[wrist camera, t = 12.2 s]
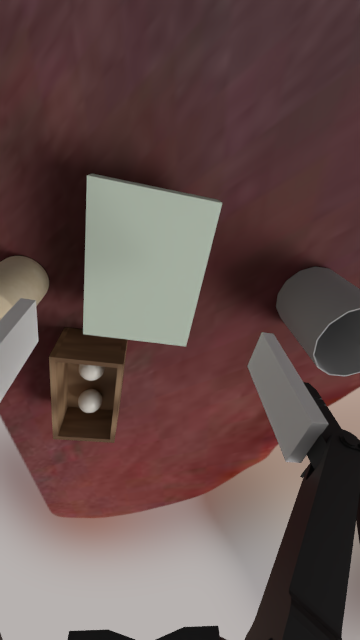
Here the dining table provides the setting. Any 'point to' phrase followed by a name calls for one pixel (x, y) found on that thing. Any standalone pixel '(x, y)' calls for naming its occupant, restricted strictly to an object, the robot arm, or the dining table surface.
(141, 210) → the lid
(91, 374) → the ball
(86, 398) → the ball
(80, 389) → the walnut box
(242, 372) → the dining table surface
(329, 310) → the cup
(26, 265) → the candle
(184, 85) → the dining table surface
